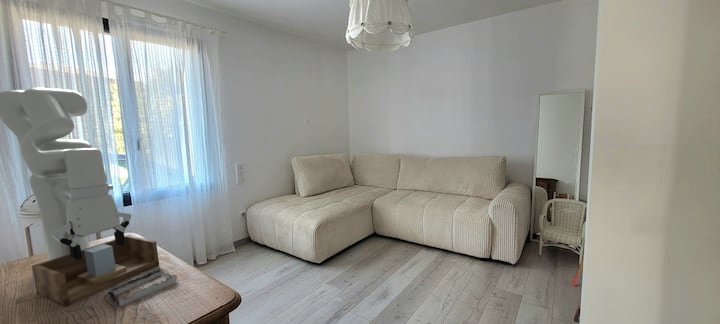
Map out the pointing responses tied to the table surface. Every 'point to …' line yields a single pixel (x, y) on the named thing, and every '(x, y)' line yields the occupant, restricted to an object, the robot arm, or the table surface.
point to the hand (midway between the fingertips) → (100, 251)
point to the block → (100, 259)
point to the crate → (73, 283)
